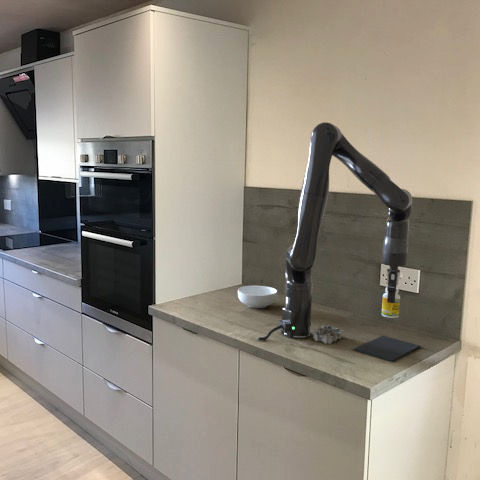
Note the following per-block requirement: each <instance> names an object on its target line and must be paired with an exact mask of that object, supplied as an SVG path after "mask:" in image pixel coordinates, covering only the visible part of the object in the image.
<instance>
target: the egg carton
mask: <svg viewBox="0 0 480 480" xmlns="http://www.w3.org/2000/svg"><path fill="white" fill-rule="evenodd" d="M343 332H344V330H343V329H341V330H340V329H339V327H335V326H333V325H329V324H327V323H325V324H324V325H323V326H319V327H317V328H315V329H314V328H313V329H312V332H311V333H312V334H313V338H312V339H313V340H314V341H315V342H322V343H323V344H329V345H330V344H333V342H337V340H341V339H342V334H343Z"/></svg>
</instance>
